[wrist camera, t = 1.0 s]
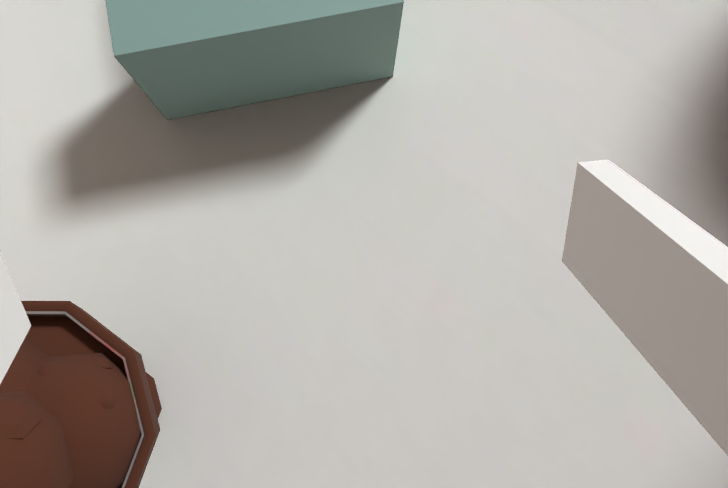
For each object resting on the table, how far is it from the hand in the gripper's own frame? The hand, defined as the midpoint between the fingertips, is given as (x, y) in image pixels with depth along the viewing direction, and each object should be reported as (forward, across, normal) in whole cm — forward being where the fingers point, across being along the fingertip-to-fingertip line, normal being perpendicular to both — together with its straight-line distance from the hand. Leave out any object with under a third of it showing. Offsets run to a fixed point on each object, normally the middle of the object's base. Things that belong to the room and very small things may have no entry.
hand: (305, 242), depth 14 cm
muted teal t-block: (+28, -1, +2) cm, 29 cm away
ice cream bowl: (+14, -11, -17) cm, 25 cm away
